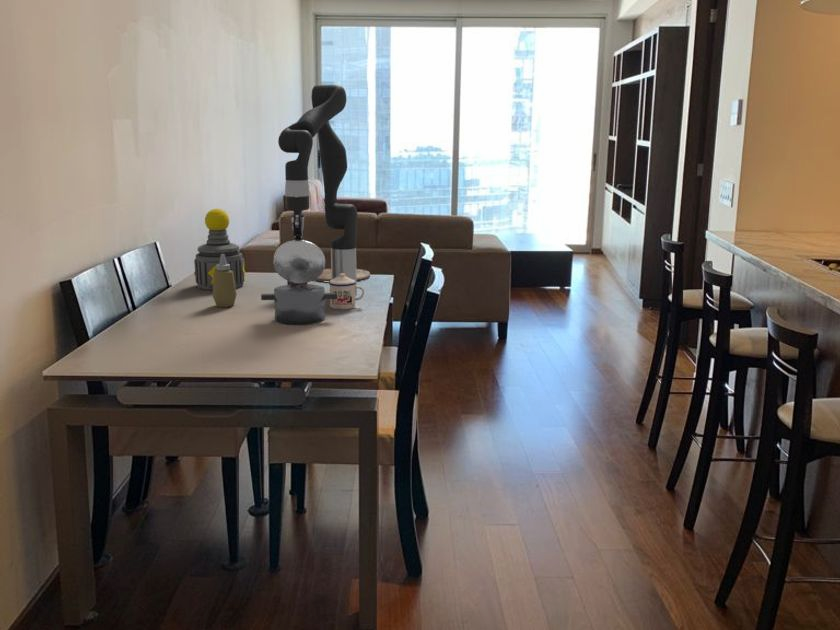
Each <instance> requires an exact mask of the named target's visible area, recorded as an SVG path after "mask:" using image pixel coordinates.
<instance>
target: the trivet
mask: <svg viewBox="0 0 840 630" xmlns="http://www.w3.org/2000/svg"><path fill="white" fill-rule="evenodd" d="M356 273H357V282H361V281H360V280H363V281H366V280H368V279H370V278H371V272H370V271H368V270H366V269H359V268H356ZM369 277H370V278H369ZM365 279H366V280H365ZM315 280H317V281H316V282H319V281H329V282H330V280H332V275H331V268H324V271H323V273H322V274H321V275H320V276H319V277H318V278H317V279H315Z"/></svg>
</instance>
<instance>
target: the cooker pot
mask: <svg viewBox="0 0 840 630" xmlns="http://www.w3.org/2000/svg"><path fill="white" fill-rule="evenodd" d="M260 299H261V301H273V302H274V321H275V322H276V323H278V324H280V325H281V324H282V325H288V326H304V325H305V326H307V325H314V323H315V324H318V323H322V322H323V321H326V300H330V299H337V293H330V292H325V287H324V286H322V285H318V284H313V283H312V284H310V283H307V284H291V285H287V284H285V285H280V286H276V287H275V288H273V293H261V295H260Z"/></svg>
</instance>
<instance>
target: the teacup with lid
mask: <svg viewBox="0 0 840 630" xmlns="http://www.w3.org/2000/svg"><path fill="white" fill-rule="evenodd" d="M355 283H356V282H355V280H353V279H350V278H348V277H346V276H345V274H344V273H341V274H339V277H336V278H335V279H333V280H330V282H329V283H328V285H329V293H337V299H329V301H330V302H329V306H330V308H331V309H333V310H339V309H340V310H351V309H354V308H355V307H356V301H360V300H361V299H363V297H364V295H365V289H364V288H363V287H362V286H360V285H357V286H355ZM355 288H357V289H360V290H361V292H362V293H361V295H360V296H359V297H356V294H355Z"/></svg>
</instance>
